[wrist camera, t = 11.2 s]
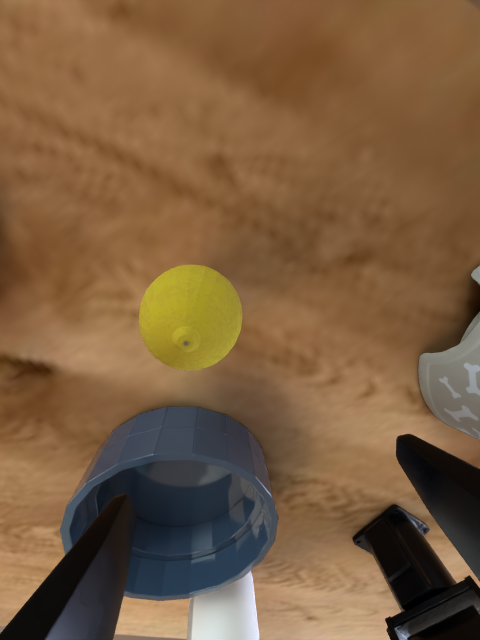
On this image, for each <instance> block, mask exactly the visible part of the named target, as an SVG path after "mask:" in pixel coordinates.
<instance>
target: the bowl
mask: <svg viewBox="0 0 480 640" xmlns="http://www.w3.org/2000/svg"><path fill="white" fill-rule="evenodd" d="M122 494H129V495H130V497H131V500H132V502H133V504H134V507H135V509H136V513H137V519H136V526H135V532H134V539H133V545H132V552H131V558H130V565H129V571H128V577H127V582H126V587H125V591H124V596H126V597H129V598H130V597H131V598H138V599H147V600H157V601H164V600H176V599H187V598H192V597H196V596H199V595H203V594H207V593H210V592H214V591H217V590H220V589H222V588H224V587H226V586H227V585H229V584H231V583H233V582H235V581H237V580H239V579H241V578H243V577H244V576H245V575H246V574H248V573H249V572H250V571H251V570H252V569H253V568H255V567H256V566H257V565H258V564H259V563H260V562H261V561H262V560H263V559H264V557H265V556H266V554H267V553H268V551H269V549H270V548H271V546H272V544H273V543H274V541H275V536H276V530H277V525H278V513H277V509H276V505H275V500H274V496H273V492H272V488H271V483H270V479H269V474H268V470H267V465H266V462H265V458H264V455H263V451H262V447H261V445H260V444H259V443H258V441H257V440H256V439H255V438H254V436H253V435H252V434H251V432H250V431H249V430H248V429H247V428H246V427H245V426H243V425H242V424H240V423H239V422H237V421H235V420H234V419H232V418H231V417H229V416H227V415H225V414H222V413H219V412H215V411H211V410H208V409H204V408H200V407H164V408H160V409H157V410H153V411H149V412H145V413H142V414H139V415H137V416H135V417H134V418H132V419H130V420H129V421H127V422H126V423H124V424H122V425H121V426H119V427H117V428H116V429H114V430H113V431H112V433H111V434H110V435H109V436H108V437H107V439H106V440H105V441H104V442H103V443H102V445H101V446H100V447H99V448H98V450H97V452H96V454H95V456H94V457H93V459H92V461H91V463H90V465H89V466H88V468H87V470H86V472H85V474H84V475H83V477H82V479H81V481H80V483H79V484H78V486H77V488H76V490H75V492H74V493H73V495H72V497H71V499H70V501H69V502H68V504H67V507H66V510H65V514H64V517H63V521H62V524H61V528H60V533H61V538H62V543H63V547H64V552H65V555H66V554H67V553H68V552H69V550H70V549H71V548H72V547H73V546H74V544H75V543H76V542H77V541H78V539H79V538H80V537H81V536H82V535H83V533H84V532H85V531H86V530H87V529H88V527H89V526H90V525H91V524H92V523H93V521H94V520H95V519H96V518H97V517H98V515H99V514H100V513H101V512H102V511H103V509H104V508H105V507H106V506H107V505H108V503H109V502H110V501H111V500H112V499H113V498H114V497H115V496H117V495H122Z"/></svg>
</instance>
